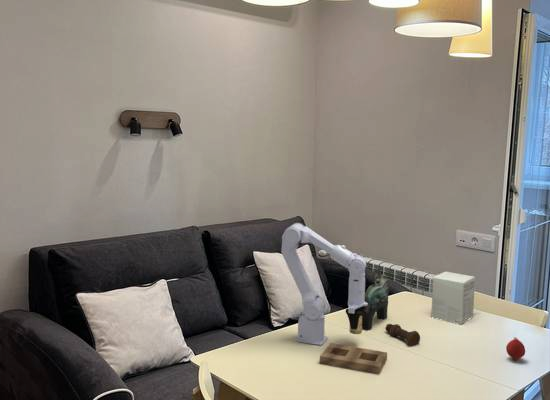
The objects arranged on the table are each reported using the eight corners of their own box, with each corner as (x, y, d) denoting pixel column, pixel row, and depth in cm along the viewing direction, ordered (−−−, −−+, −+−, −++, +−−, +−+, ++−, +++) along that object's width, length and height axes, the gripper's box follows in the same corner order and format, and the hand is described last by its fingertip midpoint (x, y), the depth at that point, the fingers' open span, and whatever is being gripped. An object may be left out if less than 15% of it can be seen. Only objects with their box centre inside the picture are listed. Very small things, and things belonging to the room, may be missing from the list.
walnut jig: (319, 363, 173) (319, 356, 173) (330, 349, 184) (330, 343, 184) (379, 374, 166) (379, 366, 165) (387, 359, 177) (387, 352, 176)
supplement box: (474, 316, 219) (476, 276, 217) (461, 325, 209) (463, 283, 207) (443, 309, 228) (445, 270, 225) (430, 317, 218) (432, 276, 216)
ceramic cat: (378, 314, 221) (380, 268, 218) (393, 318, 217) (394, 271, 215) (357, 328, 205) (358, 279, 202) (372, 332, 201) (373, 282, 199)
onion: (523, 357, 178) (524, 335, 177) (525, 364, 173) (527, 341, 172) (504, 355, 180) (506, 333, 179) (506, 362, 175) (507, 339, 174)
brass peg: (348, 333, 187) (348, 317, 186) (351, 329, 191) (351, 313, 190) (360, 335, 185) (360, 318, 185) (363, 330, 189) (363, 314, 189)
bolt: (389, 336, 202) (416, 349, 189) (380, 331, 200) (407, 344, 187) (395, 322, 203) (422, 334, 190) (386, 318, 201) (413, 329, 187)
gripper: (362, 297, 178) (361, 335, 180) (372, 286, 191) (371, 321, 193) (342, 294, 181) (342, 332, 183) (353, 283, 194) (352, 319, 196)
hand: (355, 326), depth 188 cm, fingers closed on brass peg, 4 cm apart
